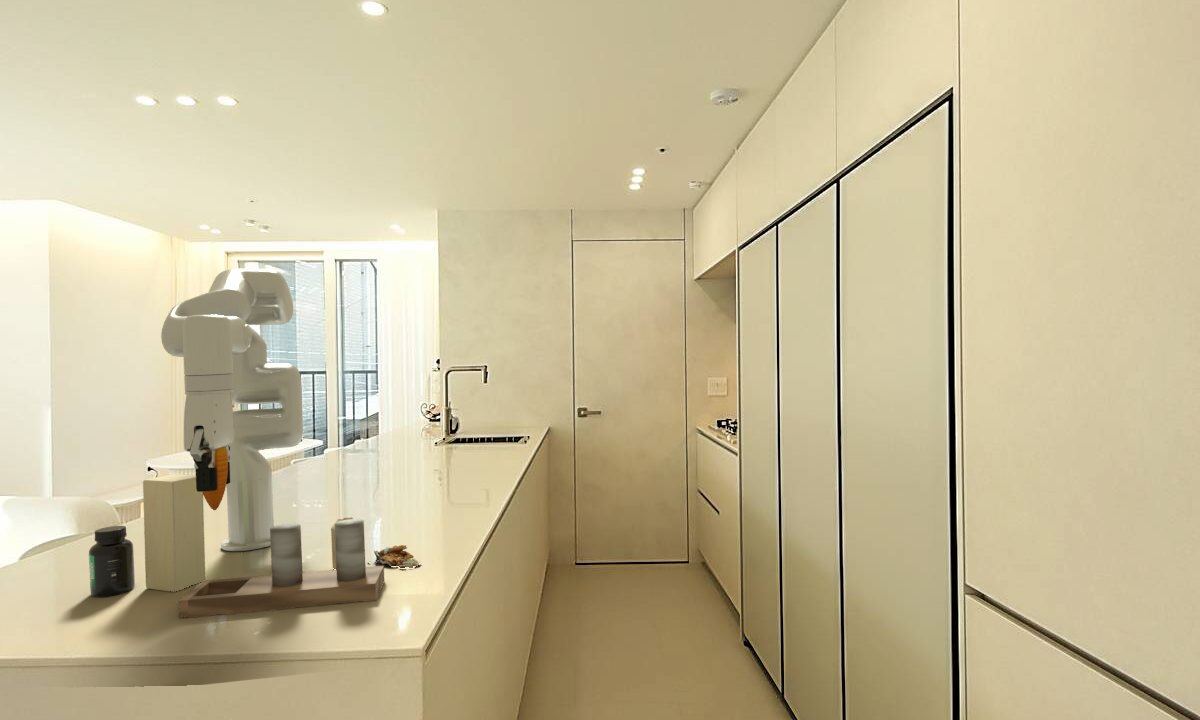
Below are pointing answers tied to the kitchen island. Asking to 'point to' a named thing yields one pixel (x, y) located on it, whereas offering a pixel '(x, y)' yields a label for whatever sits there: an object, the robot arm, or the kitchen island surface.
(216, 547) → the kitchen island surface
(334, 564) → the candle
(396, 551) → the brown irregular lump
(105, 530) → the supplement bottle
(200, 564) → the beige tall rectangular block
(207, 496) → the carrot
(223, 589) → the rail
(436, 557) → the kitchen island surface
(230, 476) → the robot arm
